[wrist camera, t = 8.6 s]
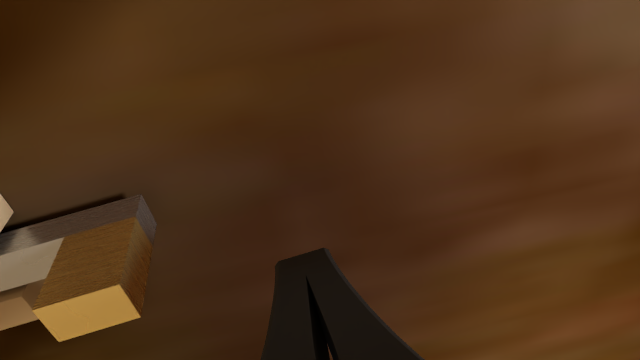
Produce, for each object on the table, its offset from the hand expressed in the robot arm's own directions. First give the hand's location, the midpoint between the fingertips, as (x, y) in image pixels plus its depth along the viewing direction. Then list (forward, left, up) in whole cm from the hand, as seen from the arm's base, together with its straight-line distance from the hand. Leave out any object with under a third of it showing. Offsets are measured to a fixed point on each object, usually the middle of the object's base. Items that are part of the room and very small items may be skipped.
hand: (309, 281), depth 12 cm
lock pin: (0, +10, -6) cm, 12 cm away
